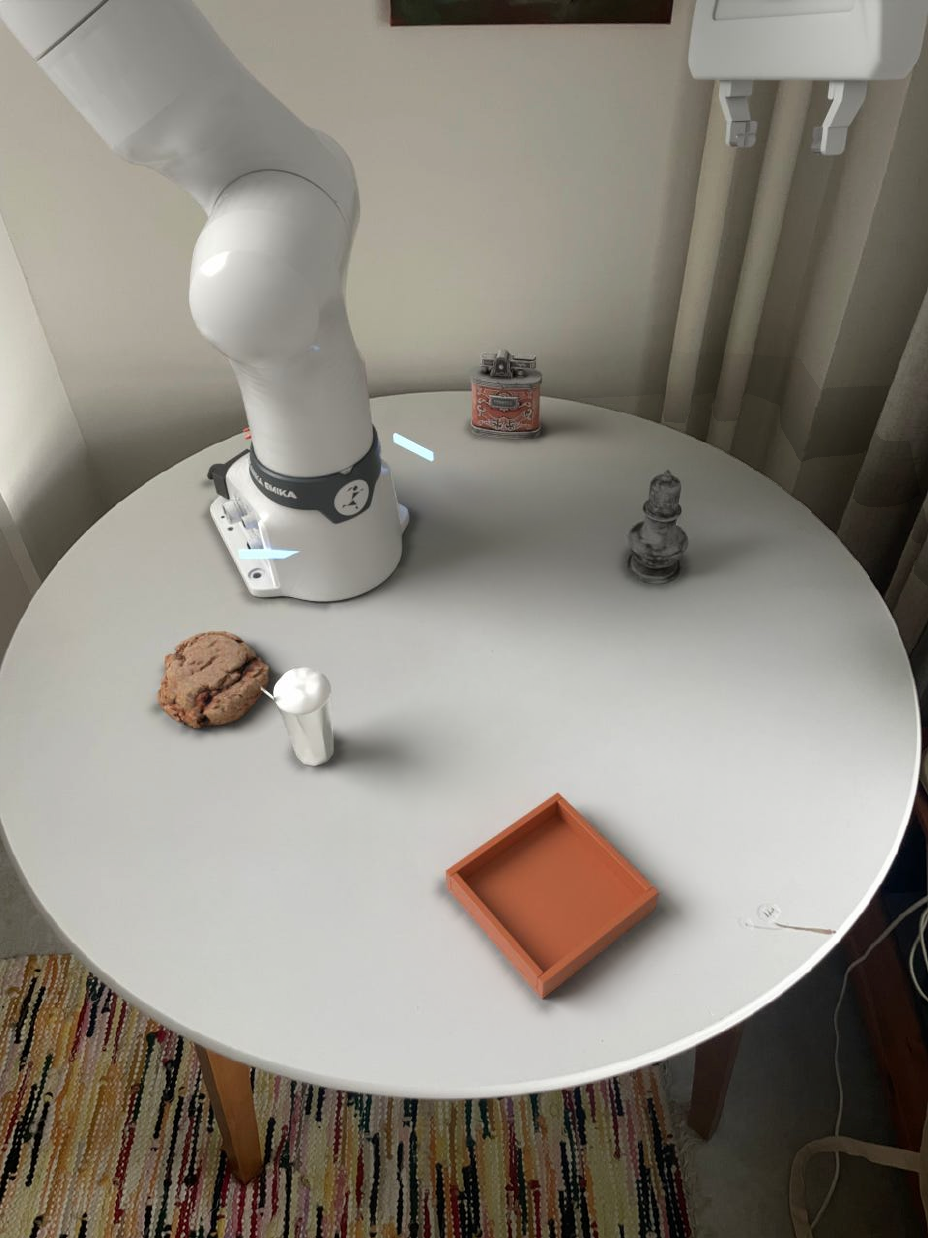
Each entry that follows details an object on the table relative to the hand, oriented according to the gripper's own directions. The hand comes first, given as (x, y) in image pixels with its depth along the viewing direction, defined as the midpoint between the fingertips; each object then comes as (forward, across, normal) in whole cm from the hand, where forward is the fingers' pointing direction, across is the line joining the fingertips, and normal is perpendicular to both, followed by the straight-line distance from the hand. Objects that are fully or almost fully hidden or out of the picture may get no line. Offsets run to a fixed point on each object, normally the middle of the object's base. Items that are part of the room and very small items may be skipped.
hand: (781, 150), depth 76 cm
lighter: (+31, -37, -4) cm, 49 cm away
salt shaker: (+38, -11, -1) cm, 40 cm away
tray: (+50, +15, -27) cm, 58 cm away
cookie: (+43, -17, -44) cm, 64 cm away
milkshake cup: (+46, -6, -39) cm, 60 cm away
